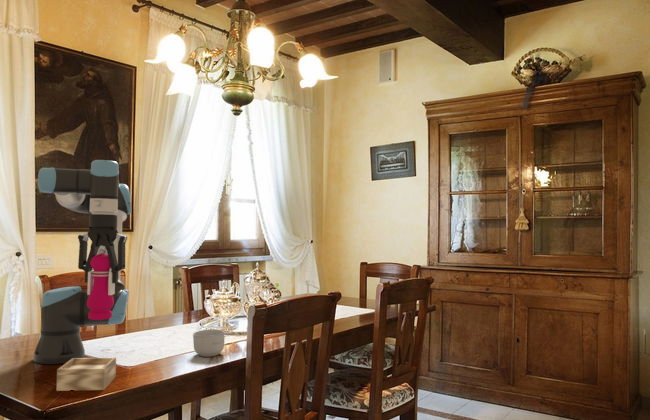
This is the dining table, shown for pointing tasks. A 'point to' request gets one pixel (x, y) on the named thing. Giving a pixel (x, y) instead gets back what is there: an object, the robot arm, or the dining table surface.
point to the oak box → (86, 374)
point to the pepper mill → (100, 288)
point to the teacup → (208, 342)
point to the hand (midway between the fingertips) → (101, 294)
